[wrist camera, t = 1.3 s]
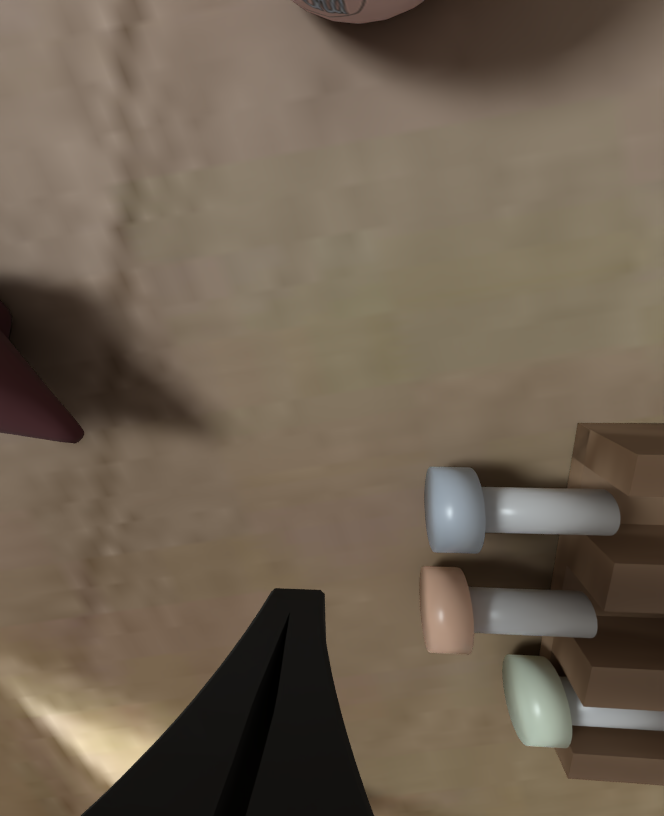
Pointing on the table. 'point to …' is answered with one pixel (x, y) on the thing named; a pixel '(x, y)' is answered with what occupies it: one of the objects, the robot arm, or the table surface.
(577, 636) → the knob clay
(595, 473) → the mount
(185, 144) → the table surface
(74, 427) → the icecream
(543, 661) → the knob sage
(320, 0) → the mug
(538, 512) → the knob slate
